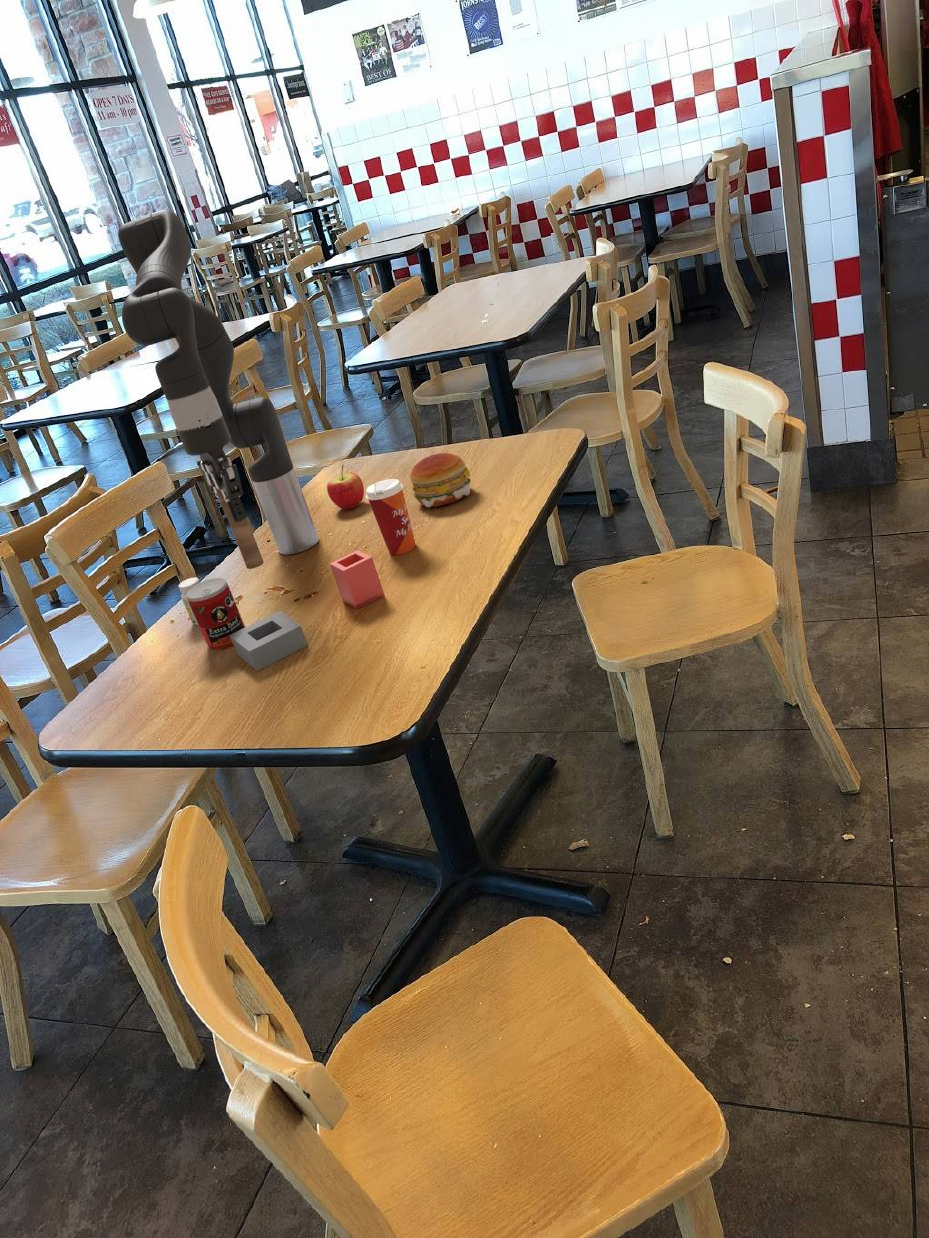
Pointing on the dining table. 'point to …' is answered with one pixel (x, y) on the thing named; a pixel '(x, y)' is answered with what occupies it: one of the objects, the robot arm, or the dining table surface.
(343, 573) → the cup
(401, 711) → the dining table surface
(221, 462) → the robot arm
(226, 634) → the canned food
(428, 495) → the burger
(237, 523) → the dowel
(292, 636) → the holder
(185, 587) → the supplement bottle
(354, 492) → the apple
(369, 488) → the paper cup
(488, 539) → the dining table surface
